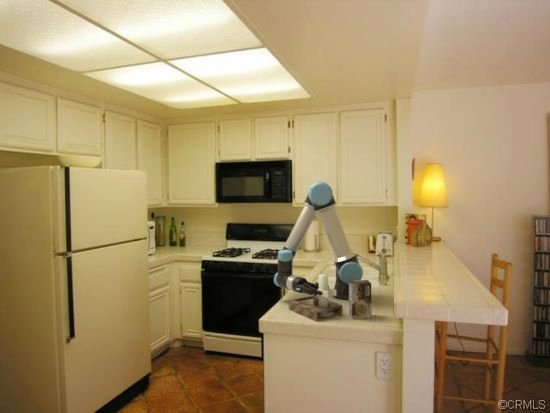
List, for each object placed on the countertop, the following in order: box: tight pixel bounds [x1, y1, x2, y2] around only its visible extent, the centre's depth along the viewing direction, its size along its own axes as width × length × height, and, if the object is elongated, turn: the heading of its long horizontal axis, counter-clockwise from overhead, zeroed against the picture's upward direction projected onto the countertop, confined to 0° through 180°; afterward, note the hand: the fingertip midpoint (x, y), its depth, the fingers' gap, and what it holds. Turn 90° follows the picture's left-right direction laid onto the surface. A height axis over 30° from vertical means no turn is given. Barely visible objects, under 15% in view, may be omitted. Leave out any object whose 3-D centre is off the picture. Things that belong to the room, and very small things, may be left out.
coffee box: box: [348, 279, 373, 320], centre depth 176 cm, size 9×6×16 cm
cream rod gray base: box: [317, 273, 334, 318], centre depth 177 cm, size 9×9×18 cm
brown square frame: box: [288, 295, 344, 322], centre depth 182 cm, size 20×16×4 cm
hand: (331, 293), depth 173 cm, fingers closed on cream rod gray base, 4 cm apart
